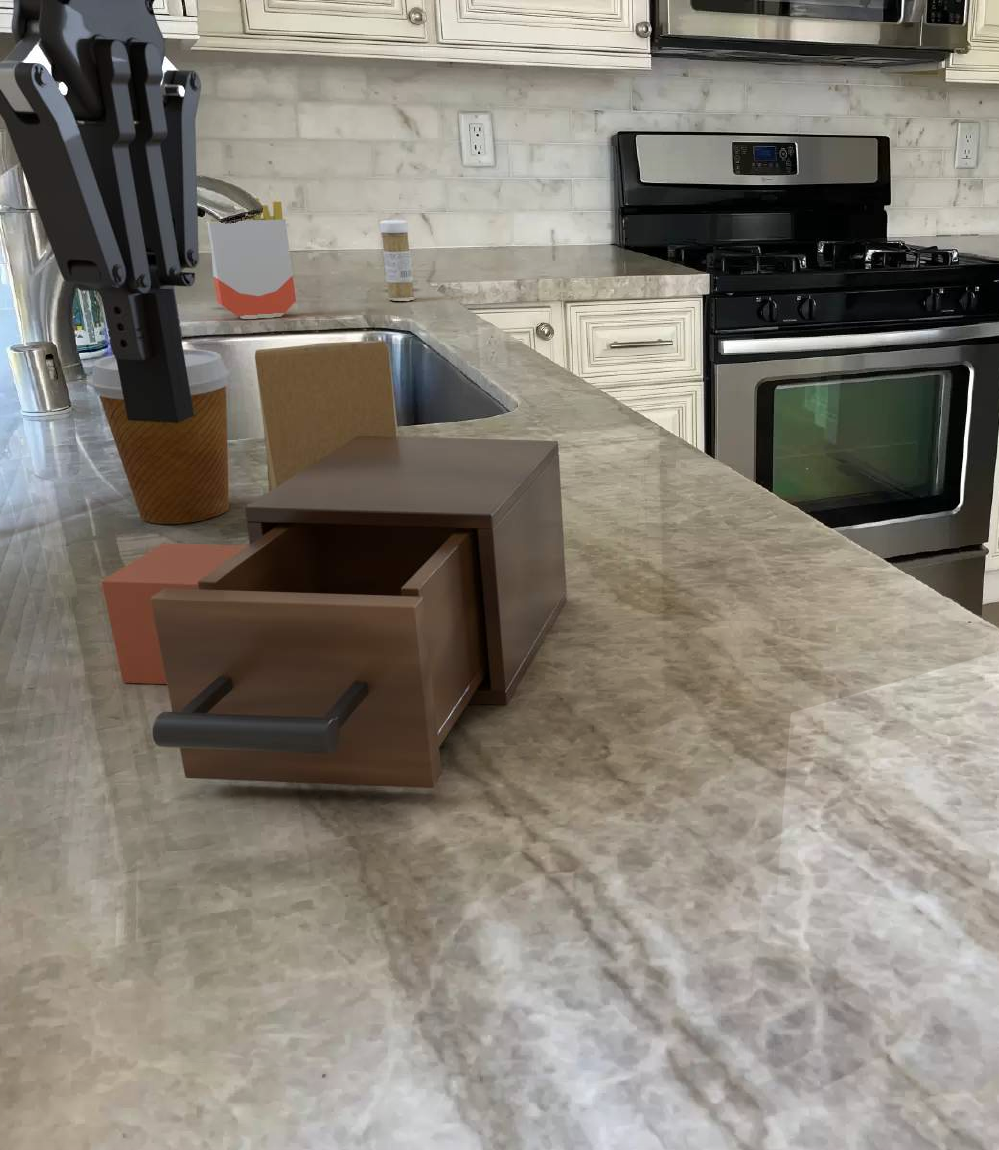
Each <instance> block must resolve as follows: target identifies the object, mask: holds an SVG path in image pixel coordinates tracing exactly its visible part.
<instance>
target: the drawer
mask: <svg viewBox="0 0 999 1150" xmlns="http://www.w3.org/2000/svg"><path fill="white" fill-rule="evenodd" d="M246 546H247V547H246V548H245V549H243V550H242V551H240V552H239V553H238V554H236V555H235V556H233V557H232V558H230V559H229V560H228V561H226V562H225V563H223V564H222V565H220V566H219V567H218V568H216V569H215V570H213V571H212V572H211V573H209V574H208V575H206V576H205V577H203V578H202V579H201V580H199V581H198V588H199V589H169V588H165V589H163V590H162V591H160V592H159V593H157V594H156V595H154V596H153V597H152V598H150V601H151V606H152V611H153V616H154V621H155V626H156V631H157V636H158V642H159V647H160V652H161V657H162V662H163V667H164V672H165V677H166V682H167V684H166V686H167V691H168V697H169V702H170V706H171V711H163V712H160V713H159V714H157V716H156V717H155V719H154V722H153V725H152V734H151V735H152V739H153V742H154V744H155V745H156V746H158V747H160V748H175V749H176V748H177V749H179V753H180V759H181V763H182V766H183V772H184V777H185V779H196V780H197V779H200V780H221V781H222V780H223V781H228V780H229V781H247V782H249V781H250V782H272V783H273V782H274V783H293V784H294V783H296V784H319V785H320V784H321V785H324V784H325V785H345V786H347V785H348V786H369V787H392V788H393V787H396V788H416V789H417V788H419V789H421V788H422V789H434V788H435V787H436V785H437V783H438V781H439V780H440V778H441V777H442V775H443V774H442V764H441V753H440V747H441V745H442V744H443V742H444V741H445V739H446V737H448V735H449V733H450V732H451V730H452V729H453V727H454V725H455V723H456V722H457V720H458V719H459V717H460V716H461V715H462V713H463V711H464V709H465V708H466V707H467V705H468V704H469V703H468V702H469V700H470V699H471V697H472V696H473V694H474V692H475V691H476V689H477V688H478V686H479V685H480V683H481V682H482V680H483V679H484V677H485V675H486V674H487V672H488V671H489V661H488V649H487V637H486V625H485V613H484V601H483V589H482V578H481V566H480V554H479V542H478V529H470V528H436V527H403V526H370V525H336V524H303V523H280V524H279V525H277V526H276V527H274V528H273V529H272V530H270V531H269V532H267V533H266V534H264V535H263V536H262V537H260V538H259V539H257V540H256V541H255V542H253V543H252V544H250V543H249V545H246Z"/></svg>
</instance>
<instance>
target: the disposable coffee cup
mask: <svg viewBox="0 0 999 1150" xmlns="http://www.w3.org/2000/svg"><path fill="white" fill-rule="evenodd" d="M183 352H184V358H185V364H186V370H187V376H188V382H189V388H190V394H191V400H192V406H193V412H194V416H193V417H190V418H188V419H186V420H184V421H181V422H179V423H168V422H150V421H133V420H128V419H127V414H126V408H125V403H124V398H123V393H122V387H121V382H120V377H119V371H118V366H117V361H116V358H115V356H114V354H113V355H109V356H105V357H102V358H99V359H97V360H95V361H94V362H93V363H92V375H91V376H92V377H91V378H90V379H88V384H89V386H90V387H92V388H93V390H94V393H95V394H96V395H97V396H98V397H99V400H100V402H101V405H102V408H103V411H104V415H105V417H106V421H107V424H108V427H109V429H110V432H111V435H112V437H113V441H114V444H115V447H116V449H117V452H118V455H119V458H120V460H121V465H122V467H123V470H124V472H125V475H126V479H127V482H128V485H129V487H130V491H131V493H132V496H133V498H134V503H135V504H136V508H137V511H138V515H139V516H140V517H139V518H140V519H141V520H142V521H144V522H148V523H152V524H158V525H159V524H160V525H178V524H179V525H180V524H186V523H195V522H200V521H205V520H208V519H212V518H215V517H219V516H220V515H222V514H224V513H225V512H227V511H228V510H229V508H230V504H229V503H230V501H229V500H230V499H229V498H230V497H229V496H230V495H229V456H228V452H229V451H228V450H229V449H228V418H227V416H228V414H227V413H228V412H227V386H228V385H229V378H230V377H231V370H230V369H229V368H226V365H225V363H224V360H223V358H222V355H221V354H220V353H219V352H217V351H212V350H206V349H205V350H204V349H192V348H191V349H190V348H189V349H187V348H183Z"/></svg>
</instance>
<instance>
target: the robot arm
mask: <svg viewBox="0 0 999 1150" xmlns="http://www.w3.org/2000/svg"><path fill="white" fill-rule="evenodd" d="M154 2H155V0H13V1H12V3H13V11H12V19H11V27H10V28H11V35H12V39H13V41H14V43H15V46H14V47H13V48H12V49H11V51H10V52H9V53H8V54H7V56H6V57H5V58H4V60H1V61H0V116H1V118H2V120H3V121H4V123H5V127H6V129H7V131H8V134H9V137H10V140H11V143H12V145H13V148H14V151H15V153H16V155H17V159H18V161H19V164H20V167H21V169H22V172H23V175H24V178H25V180H26V184H27V186H28V189H29V191H30V194H31V196H32V200H33V202H34V204H35V207H36V210H37V212H38V213H37V214H38V215H39V218H40V220H41V224H42V226H43V229H44V231H45V234H46V236H47V240H48V242H49V245H50V247H51V250H52V253H53V255H54V258H55V261H56V264H57V267H58V269H59V271H60V274H61V276H62V278H63V280H64V281H65V282H66V283H69V284H74V285H75V287H76V288H77V289H78V290H79V291H80V292H98V294H99V296H100V298H101V302H102V307H103V312H104V318H105V322H106V328H107V332H108V338H109V343H110V348H111V352H112V354H113V355H114V356H115V358H116V361H117V366H118V371H119V377H120V382H121V387H122V393H123V398H124V403H125V408H126V414H127V419H128V420H133V421H150V422H168V423H179V422H181V421H184V420H186V419H188V418H190V417H193V416H194V412H193V406H192V400H191V394H190V388H189V382H188V376H187V370H186V364H185V358H184V352H183V349H184V347H183V333H182V328H181V326H180V325H181V321H180V318H179V317H180V314H179V308H178V303H177V298H176V290H175V289H176V288H175V287H190V288H191V287H192V286H193V285H194V283H195V281H196V272H186V271H184V270H185V269H195V268H196V267H197V266H198V264H199V257H200V256H199V255H200V254H199V252H200V251H199V219H198V218H199V217H198V213H199V212H198V180H197V179H198V177H197V138H196V136H197V135H196V117H197V112H198V107H199V103H200V102H199V101H200V98H201V92H202V84H201V83H202V82H201V81H202V80H201V78H200V75H198V73H197V72H196V71H195V70H185V69H183V70H182V69H177V68H176V67H175V65H174V64H173V63H172V62H171V61H170V60H169V59H168V57H166V42H165V38H164V35H163V33H162V31H161V28H160V26H159V24H158V20H157V17H156V14H155V12H154ZM81 122H83V123H81Z"/></svg>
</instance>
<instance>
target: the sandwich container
mask: <svg viewBox="0 0 999 1150" xmlns="http://www.w3.org/2000/svg"><path fill="white" fill-rule="evenodd" d="M254 361H255V370H256V377H257V385H258V393H259V394H258V395H259V402H260V409H261V417H262V418H261V419H262V425H263V426H262V427H263V432H264V433H263V435H264V445H265V453H266V468H267V478H268V490H269V491H271V490H273V489H274V488H276V487H277V486H279V485H280V484H282V483H284V482H285V481H287V480H288V479H290V478H292V477H293V476H295V475H296V474H298V473H299V472H301V471H303V470H304V469H306V468H307V467H309V466H310V465H312V464H314V463H315V462H317V461H318V460H320V459H321V458H323V457H325V456H326V455H328V454H329V453H331V452H332V451H334V450H336V449H337V448H339V447H340V446H342V445H344V444H345V443H347V442H348V441H350V440H351V439H353V438H355V437H356V436H391V437H399V431H398V422H397V421H398V420H397V412H396V403H395V394H394V393H395V392H394V384H393V373H392V366H391V356H390V346H389V344H388V342H387V341H386V340H365V341H364V340H363V341H345V342H344V341H343V342H341V341H340V342H323V343H322V342H321V343H311V344H302V345H292V346H282V347H273V348H262V349H256V350H255V352H254ZM269 491H268V492H269Z"/></svg>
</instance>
